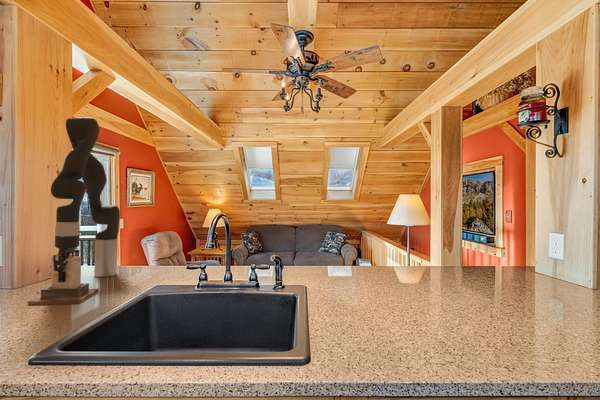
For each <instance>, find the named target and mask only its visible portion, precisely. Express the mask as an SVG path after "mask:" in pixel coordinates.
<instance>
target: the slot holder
mask: <svg viewBox="0 0 600 400" xmlns="http://www.w3.org/2000/svg"><path fill="white" fill-rule="evenodd" d="M89 285H90V283H86V282H85V283H82V282H81V286H80V287H78V288H76V289H51V285H48V286H46V287H43V288H42V289H40V295H38V296H36V297H34V298H32V299H30V300H28V301H27V305H28V306H30V305H32V306H33V305H35V306H37V305H41V306H43V305H44V306H45V305H80V304H81V303H83V302H84V301H86V300H88V299H90V298H91V297H92V296H94V295H96V294H97V293H99V288H90V286H89Z"/></svg>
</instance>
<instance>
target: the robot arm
mask: <svg viewBox="0 0 600 400" xmlns="http://www.w3.org/2000/svg"><path fill="white" fill-rule="evenodd" d="M65 130H66V134H67V136H68V139H69V143H70V145H72V146H71V147H72V150H71V151H69V152H68V154H67V156H66V157H65V159H64V163H63V166H62V169H61V171H60V172H59V173H58V175H57V176H56V177H55V179H54V180H53V182H51V183H52V184H51V186H50V194H51V195H52V197H54V198H55V199H59V200H60V199H61V200H72V201H71V203H69V204H64V205H60V206H57V208H56V215H55V217H56V219H55V221H56V222H55V223H56V224H55V227H54V248H57V249H58V252H57V254H53V255H52V258H53V262H54V271H57V272H58V282H65V281H66V272H65V271H66V266H67V265H68V261H67V260H66V259H67V258H71V256H80V249H76V248H78V247H79V246H80V234H81V233H80V230H81V228H80V227H81V226H80V211H81V206H82V203H83V199H84V197H85V194H86V195H87V198H88V199H87V200H88V204H89V205H88V206H89V210H90V214H91V219H92V221H93V223H94V224H95V225H107V226H106V229H105V228H104V230H102V231H99V232H96V233H95V240H94V271H93V272H94V274H93V275H94V277H98V278H106V277H107V278H108V277H113V276H115V275H117V269H118V236H119V231H120V230H119V229H120V219H121V215H120V214H121V213H120V208H119V206H117V205H114V204H113V205H111V204H110V205H109V204H106V205H105V204H103V203H102V201H101V199H102V198H101V196H102V193H103V191H104V189H105V187H106V184H107V181H108V180H107V174H106V171H105V167H104V165H103V164H102V162H101V161H100V160H99V159H98V158H97V157H95V155H93V153H92V151H93V149H94V147H95V145H96V143H97V141H98V138H99V136H100V135H99V134H100V126H99V123H98V121H97V119H96V118H94V117H86V116H85V117H84V116H83V117H69V118H67V119H66V121H65ZM65 260H66V262H65V263H63V261H65ZM57 265H58V268H57ZM63 265H64V268H63Z"/></svg>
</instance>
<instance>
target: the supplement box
mask: <svg viewBox="0 0 600 400" xmlns="http://www.w3.org/2000/svg"><path fill="white" fill-rule="evenodd" d="M66 260H67V261H68V265H67V266H66V271H65V272H66V281H65V282H58V272H57V271H54V262H53V257H51V284H50V286H51V289H76V288H78V287H80V286H81V283H82V282H81V281H82V256H80V255H79V256H71V258H67V259H66ZM66 260H65V261H63V263H65V262H66ZM57 268H58V265H57ZM63 268H64V265H63Z"/></svg>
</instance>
